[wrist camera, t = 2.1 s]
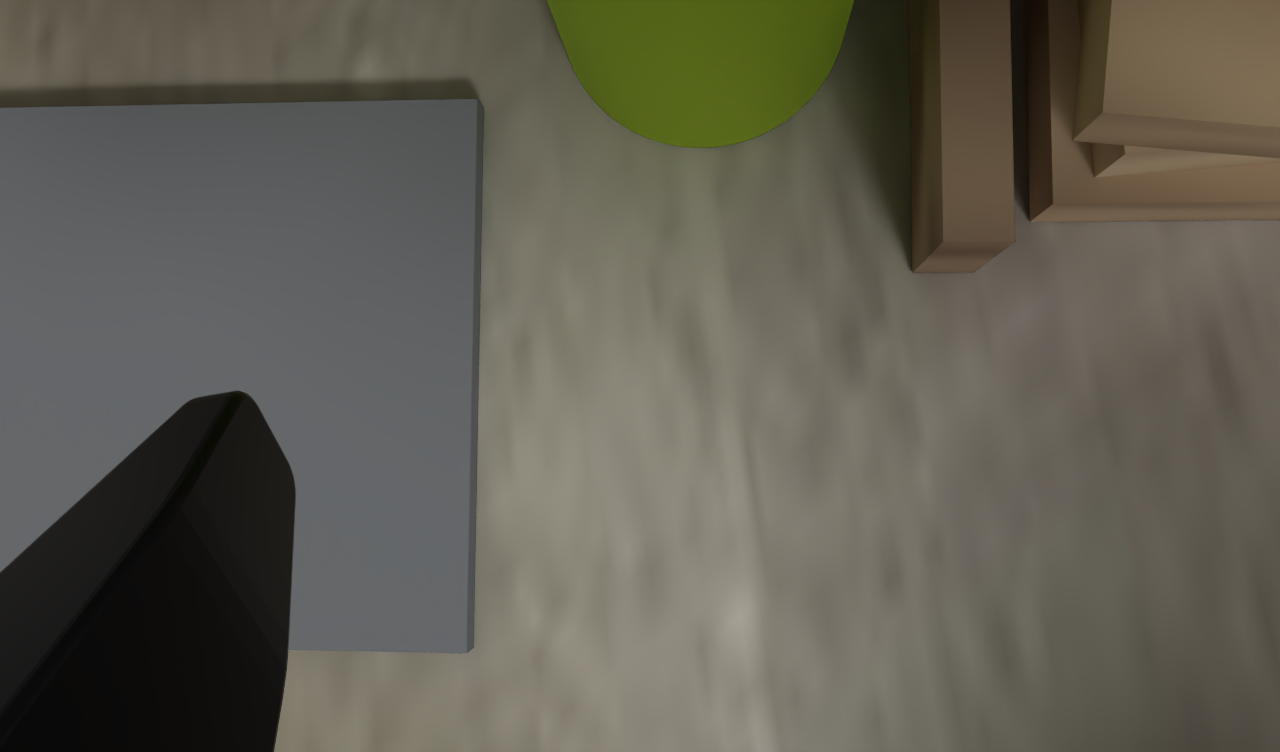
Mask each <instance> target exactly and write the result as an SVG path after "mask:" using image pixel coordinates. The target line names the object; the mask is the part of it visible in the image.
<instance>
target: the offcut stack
mask: <svg viewBox="0 0 1280 752" xmlns="http://www.w3.org/2000/svg"><path fill="white" fill-rule="evenodd" d="M1025 22H1026V67H1027V112H1028V156H1029V201H1030V222H1083V221H1186V220H1280V0H1025Z"/></svg>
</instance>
